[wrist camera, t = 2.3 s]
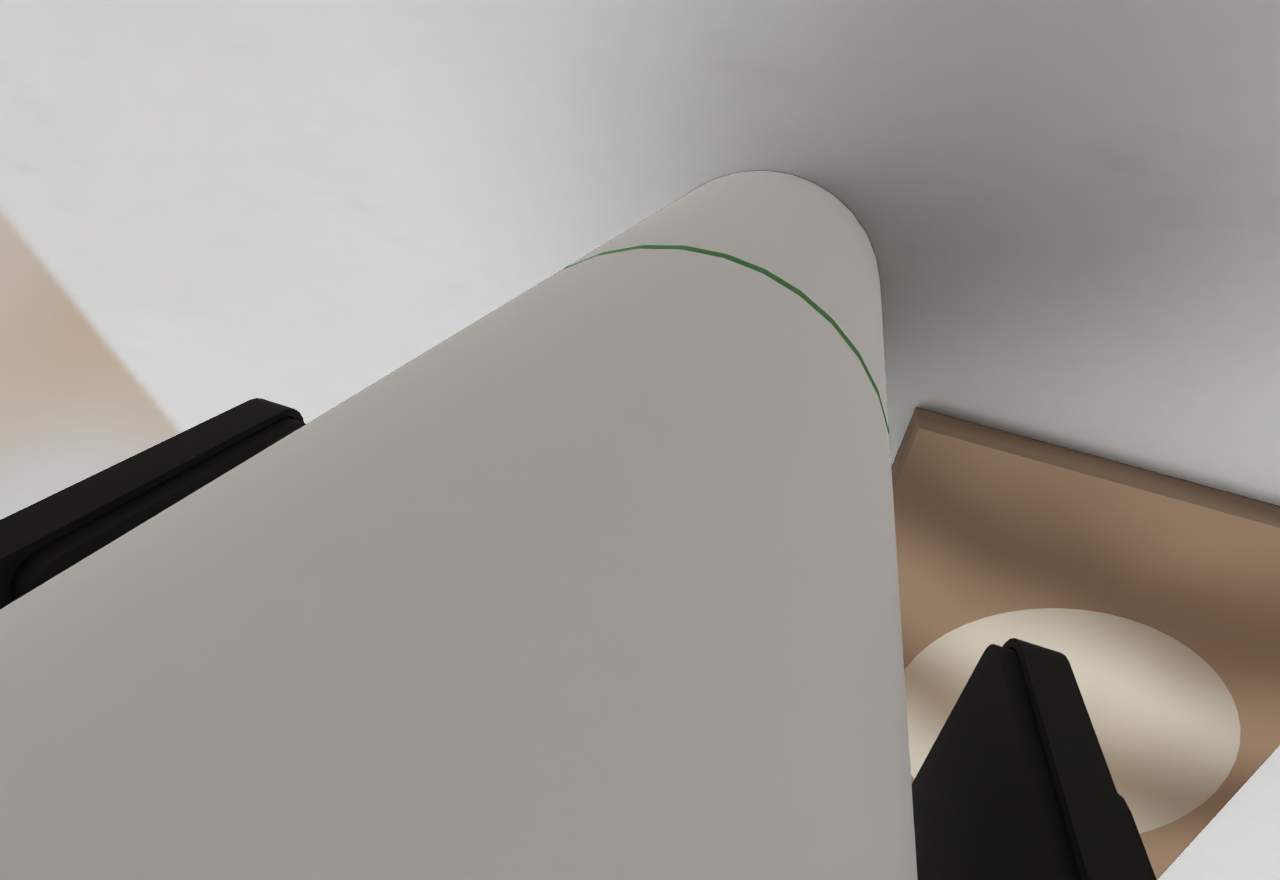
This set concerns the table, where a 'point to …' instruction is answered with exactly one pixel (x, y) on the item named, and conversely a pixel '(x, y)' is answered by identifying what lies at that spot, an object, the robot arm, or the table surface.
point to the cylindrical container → (514, 601)
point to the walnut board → (1095, 608)
